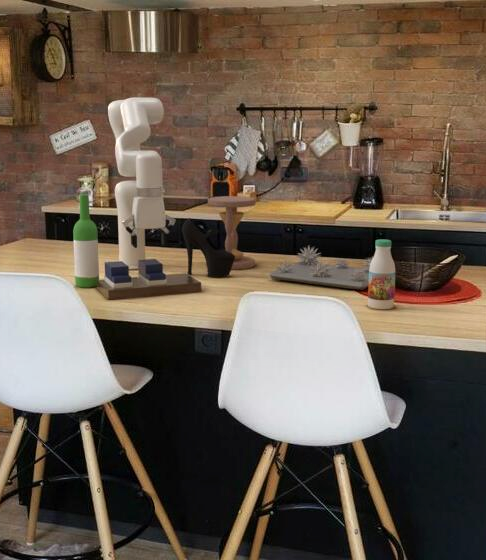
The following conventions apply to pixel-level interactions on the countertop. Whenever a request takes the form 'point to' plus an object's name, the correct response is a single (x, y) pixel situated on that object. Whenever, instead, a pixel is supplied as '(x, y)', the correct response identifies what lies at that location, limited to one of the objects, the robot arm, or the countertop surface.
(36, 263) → the countertop surface
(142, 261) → the blue pale-edged block
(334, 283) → the decorative tray
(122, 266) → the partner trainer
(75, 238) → the wine bottle
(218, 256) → the high-heeled shoe
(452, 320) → the countertop surface
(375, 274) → the milk bottle
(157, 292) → the dark brown flat board
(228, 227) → the hourglass
